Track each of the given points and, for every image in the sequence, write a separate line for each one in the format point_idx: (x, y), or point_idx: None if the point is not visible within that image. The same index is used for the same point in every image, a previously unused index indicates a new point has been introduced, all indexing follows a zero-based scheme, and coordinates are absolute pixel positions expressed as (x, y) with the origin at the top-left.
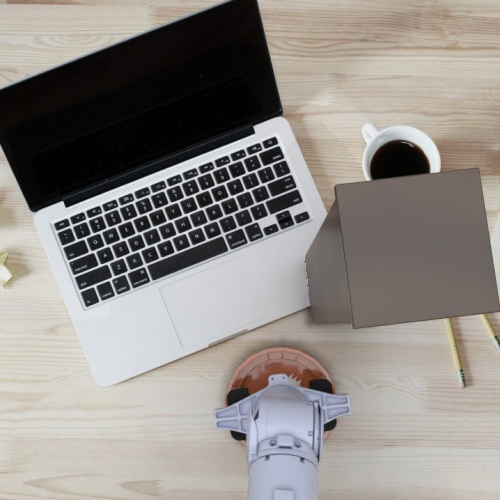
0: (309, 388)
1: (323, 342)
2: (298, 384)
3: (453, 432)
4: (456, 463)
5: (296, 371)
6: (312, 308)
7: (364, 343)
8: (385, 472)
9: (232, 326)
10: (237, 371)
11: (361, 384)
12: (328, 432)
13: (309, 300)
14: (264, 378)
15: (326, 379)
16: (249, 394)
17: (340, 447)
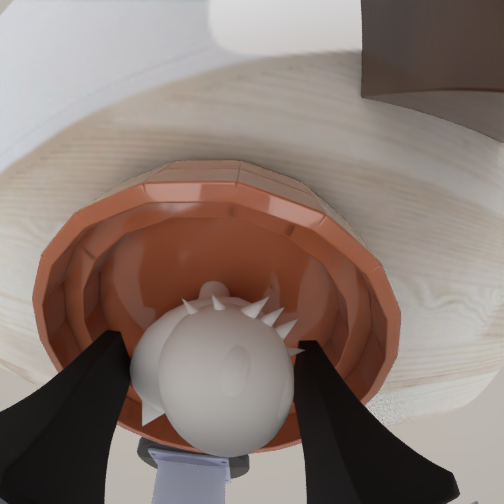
0: (347, 497)
1: (380, 173)
2: (284, 379)
3: (484, 361)
4: (462, 390)
5: (276, 253)
6: (429, 28)
7: (467, 204)
8: (382, 412)
9: (85, 86)
10: (44, 265)
11: (424, 297)
12: None
13: (363, 30)
14: (166, 260)
15: (456, 494)
16: (48, 433)
17: None
